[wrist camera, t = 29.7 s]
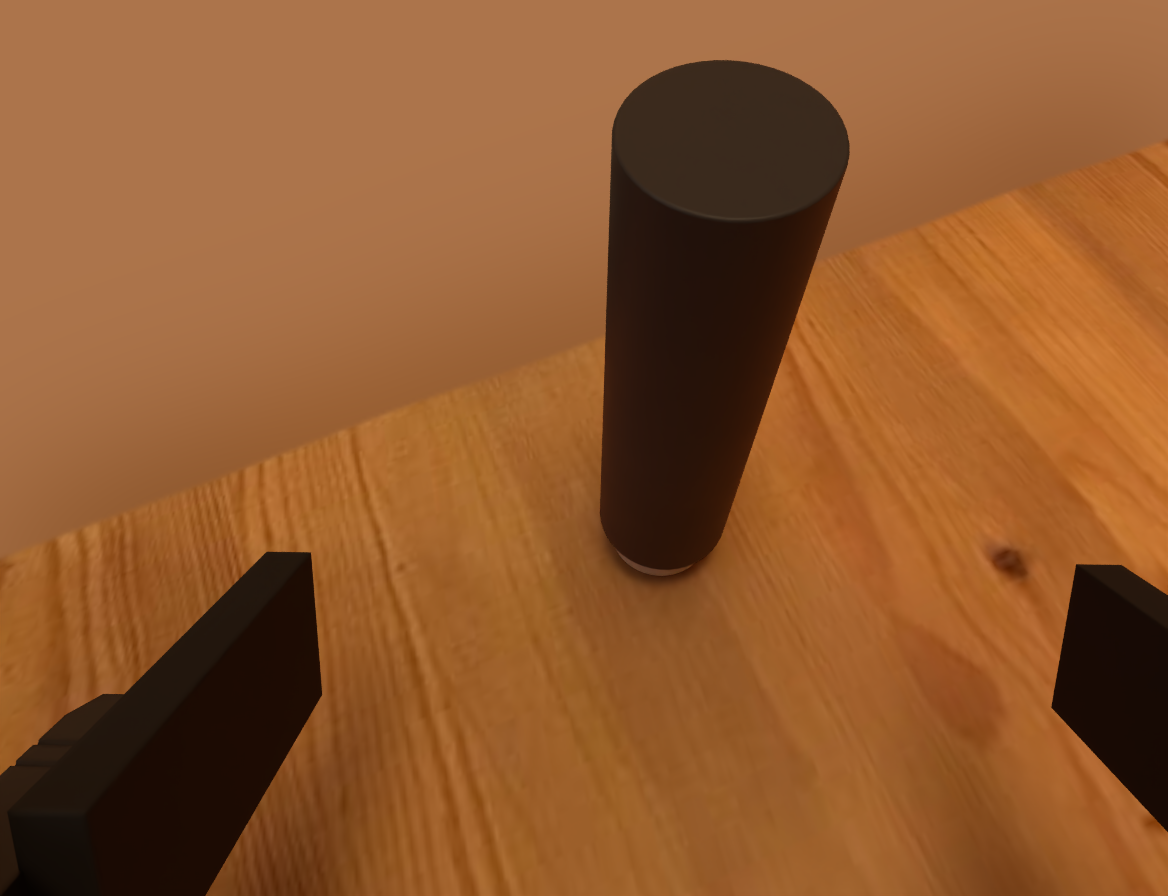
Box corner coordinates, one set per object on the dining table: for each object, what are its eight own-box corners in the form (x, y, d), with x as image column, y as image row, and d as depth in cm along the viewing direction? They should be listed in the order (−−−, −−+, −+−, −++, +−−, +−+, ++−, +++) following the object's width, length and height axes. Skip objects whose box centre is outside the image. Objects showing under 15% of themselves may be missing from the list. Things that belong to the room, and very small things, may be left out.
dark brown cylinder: (588, 574, 22) (590, 199, 11) (612, 469, 24) (636, 44, 12) (709, 599, 22) (842, 238, 10) (726, 490, 23) (857, 75, 12)
